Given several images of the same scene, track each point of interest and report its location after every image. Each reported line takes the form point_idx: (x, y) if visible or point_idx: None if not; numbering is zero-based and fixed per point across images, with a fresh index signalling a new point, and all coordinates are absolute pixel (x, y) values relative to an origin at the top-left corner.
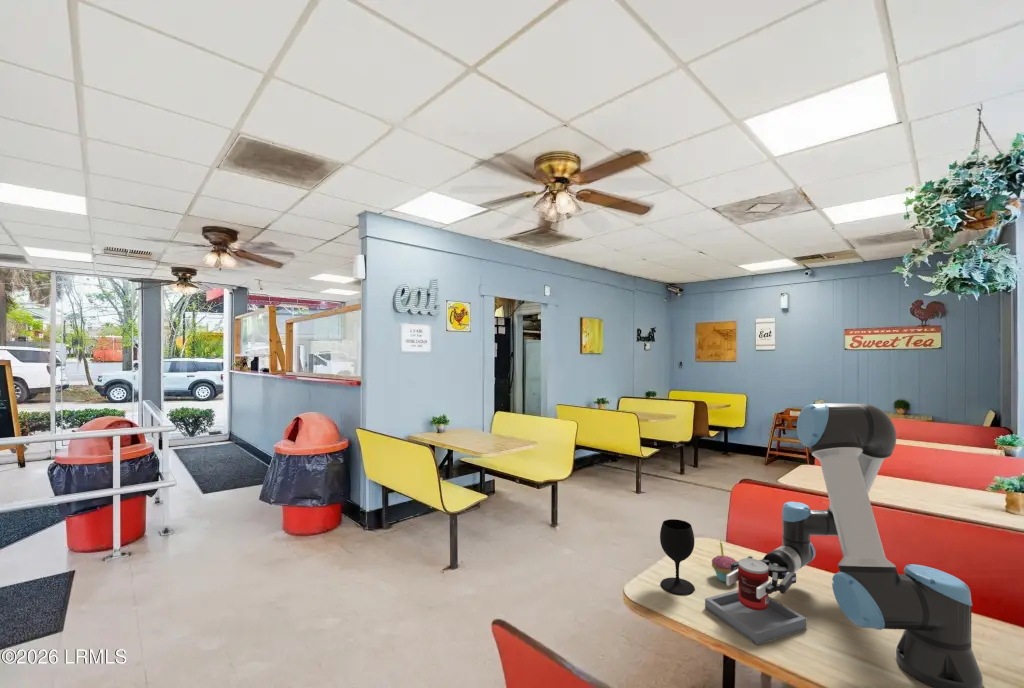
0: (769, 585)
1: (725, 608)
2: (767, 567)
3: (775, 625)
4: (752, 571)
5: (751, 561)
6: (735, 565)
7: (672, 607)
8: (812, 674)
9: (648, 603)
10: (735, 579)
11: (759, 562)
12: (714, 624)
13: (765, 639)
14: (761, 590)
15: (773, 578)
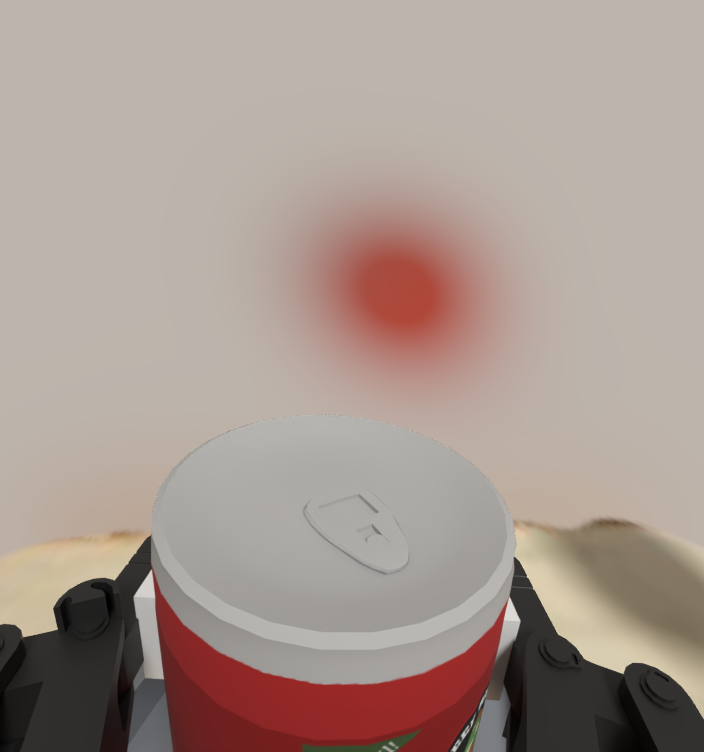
0: None
1: (476, 746)
2: (161, 506)
3: (140, 668)
4: (290, 422)
5: (414, 570)
6: (632, 704)
7: (581, 578)
8: (23, 564)
9: (625, 543)
10: None
11: (304, 597)
12: None
13: None
14: None
15: (85, 720)
